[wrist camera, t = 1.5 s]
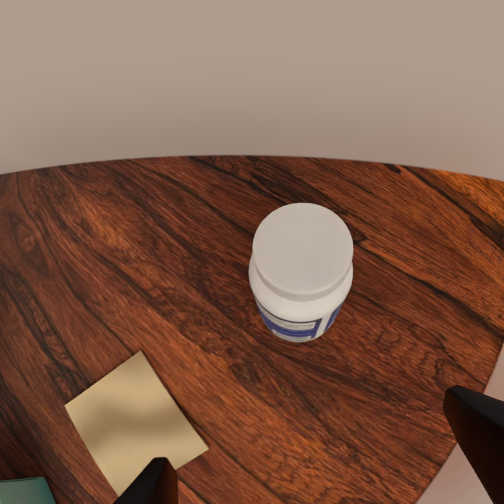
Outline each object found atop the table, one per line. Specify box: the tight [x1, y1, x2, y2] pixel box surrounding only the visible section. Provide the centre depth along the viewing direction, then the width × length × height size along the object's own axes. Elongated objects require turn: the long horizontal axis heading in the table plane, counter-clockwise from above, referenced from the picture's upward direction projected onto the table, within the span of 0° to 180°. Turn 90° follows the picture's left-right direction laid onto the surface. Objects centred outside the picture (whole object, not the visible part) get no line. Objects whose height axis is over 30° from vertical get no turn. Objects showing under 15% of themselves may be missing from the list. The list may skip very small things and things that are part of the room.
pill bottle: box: [249, 203, 353, 342], centre depth 19 cm, size 6×6×10 cm
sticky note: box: [65, 350, 210, 496], centre depth 20 cm, size 9×9×1 cm
